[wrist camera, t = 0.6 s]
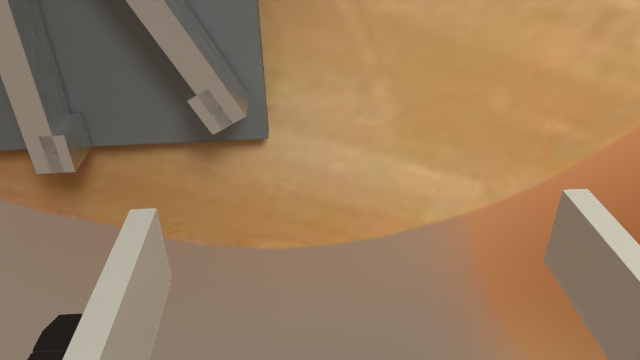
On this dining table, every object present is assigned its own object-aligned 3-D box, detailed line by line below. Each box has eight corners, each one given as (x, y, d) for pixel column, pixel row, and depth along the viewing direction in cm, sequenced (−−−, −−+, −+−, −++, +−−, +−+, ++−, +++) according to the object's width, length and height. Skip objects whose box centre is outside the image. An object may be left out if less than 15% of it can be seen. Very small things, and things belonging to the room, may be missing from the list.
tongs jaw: (35, -135, 25) (7, -135, 22) (71, -163, 24) (46, -165, 22) (218, 113, 32) (212, 135, 29) (249, 95, 32) (246, 116, 29)
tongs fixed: (-58, -200, 24) (-122, -211, 20) (17, -202, 24) (-34, -213, 20) (56, 148, 33) (27, 184, 29) (109, 145, 33) (86, 182, 29)
